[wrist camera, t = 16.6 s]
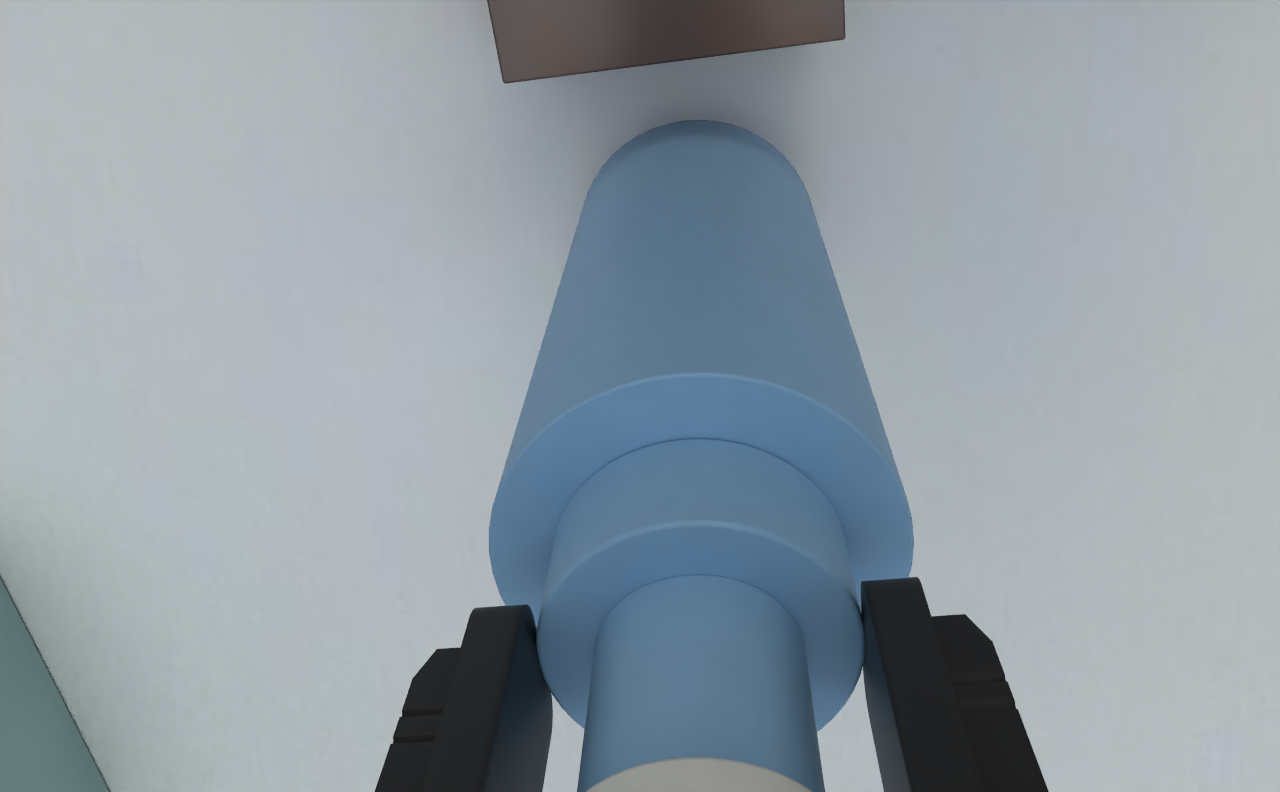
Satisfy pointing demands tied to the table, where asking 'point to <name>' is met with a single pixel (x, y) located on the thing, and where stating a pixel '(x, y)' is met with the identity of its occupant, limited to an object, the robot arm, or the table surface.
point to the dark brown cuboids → (648, 32)
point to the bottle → (699, 475)
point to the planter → (36, 720)
